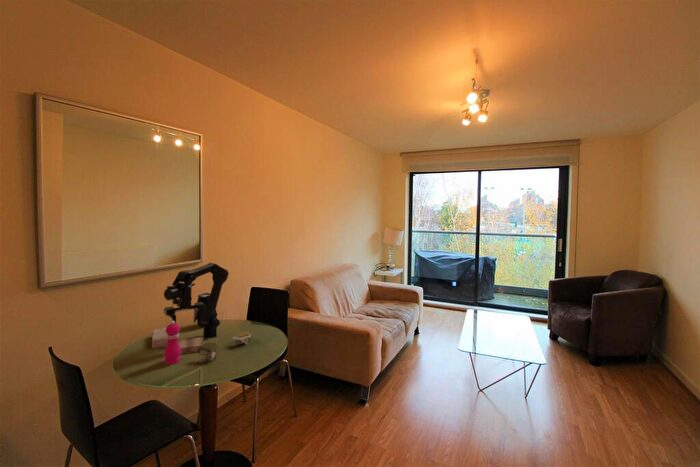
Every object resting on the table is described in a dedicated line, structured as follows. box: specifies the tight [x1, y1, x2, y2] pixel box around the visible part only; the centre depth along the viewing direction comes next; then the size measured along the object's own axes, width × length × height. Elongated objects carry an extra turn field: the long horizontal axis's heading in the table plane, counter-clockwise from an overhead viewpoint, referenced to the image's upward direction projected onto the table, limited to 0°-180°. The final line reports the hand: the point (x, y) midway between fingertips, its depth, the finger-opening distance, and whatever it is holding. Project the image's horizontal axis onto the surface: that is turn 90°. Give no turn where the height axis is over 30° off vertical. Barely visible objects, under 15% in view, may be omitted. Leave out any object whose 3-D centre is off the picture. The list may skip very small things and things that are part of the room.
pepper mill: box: [163, 320, 181, 365], centre depth 153 cm, size 7×7×20 cm
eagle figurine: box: [195, 346, 218, 365], centre depth 156 cm, size 8×7×9 cm
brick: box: [151, 327, 168, 349], centre depth 175 cm, size 17×8×5 cm, turn 30°
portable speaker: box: [196, 292, 211, 328], centre depth 200 cm, size 9×9×20 cm
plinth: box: [178, 336, 204, 355], centre depth 169 cm, size 12×12×3 cm
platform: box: [232, 331, 252, 346], centre depth 177 cm, size 12×18×7 cm, turn 134°
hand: (185, 324), depth 168 cm, fingers open, 9 cm apart
